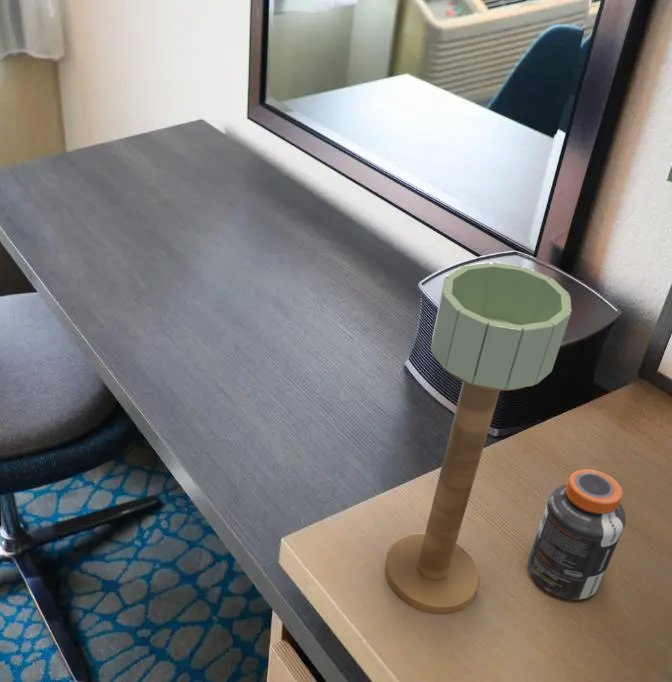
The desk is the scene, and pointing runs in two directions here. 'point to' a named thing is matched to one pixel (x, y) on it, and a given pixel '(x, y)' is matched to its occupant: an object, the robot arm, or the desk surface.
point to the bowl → (500, 325)
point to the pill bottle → (578, 535)
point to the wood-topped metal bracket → (669, 175)
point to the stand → (446, 517)
